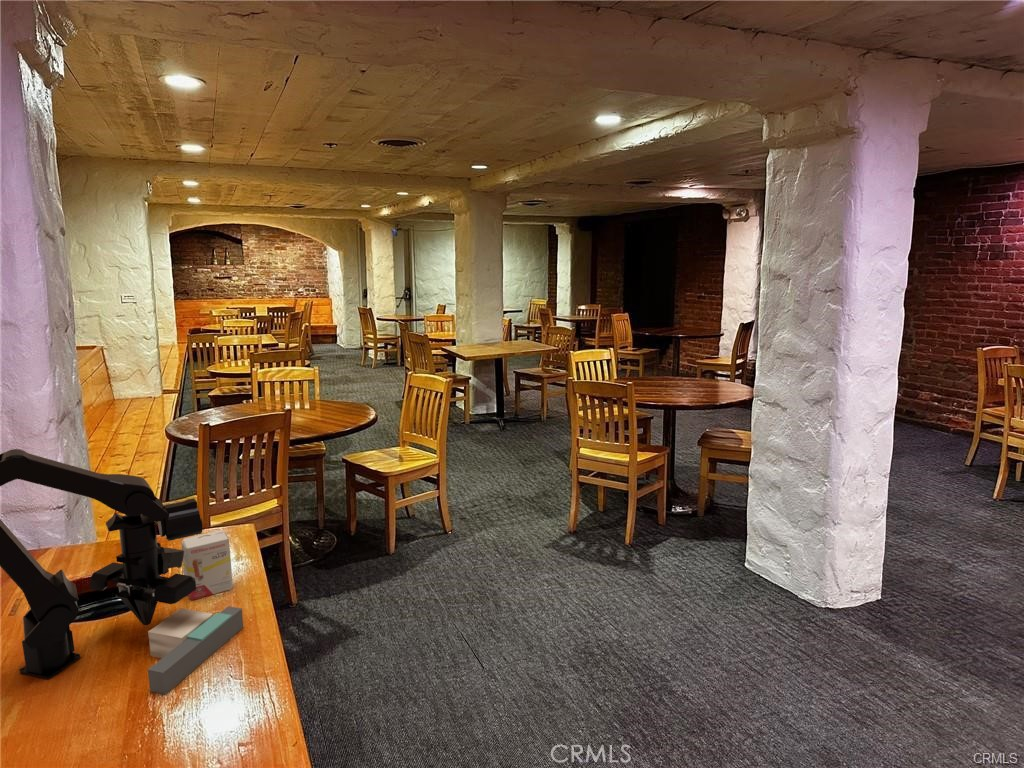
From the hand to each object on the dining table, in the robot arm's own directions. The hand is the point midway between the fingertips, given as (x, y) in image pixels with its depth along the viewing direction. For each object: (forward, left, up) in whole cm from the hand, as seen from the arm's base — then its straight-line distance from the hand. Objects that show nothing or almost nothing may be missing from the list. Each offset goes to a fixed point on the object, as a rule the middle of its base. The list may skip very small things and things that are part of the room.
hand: (147, 624), depth 123 cm
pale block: (-1, -9, -3) cm, 9 cm away
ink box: (+17, 0, -3) cm, 17 cm away
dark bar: (-3, -14, -2) cm, 14 cm away
